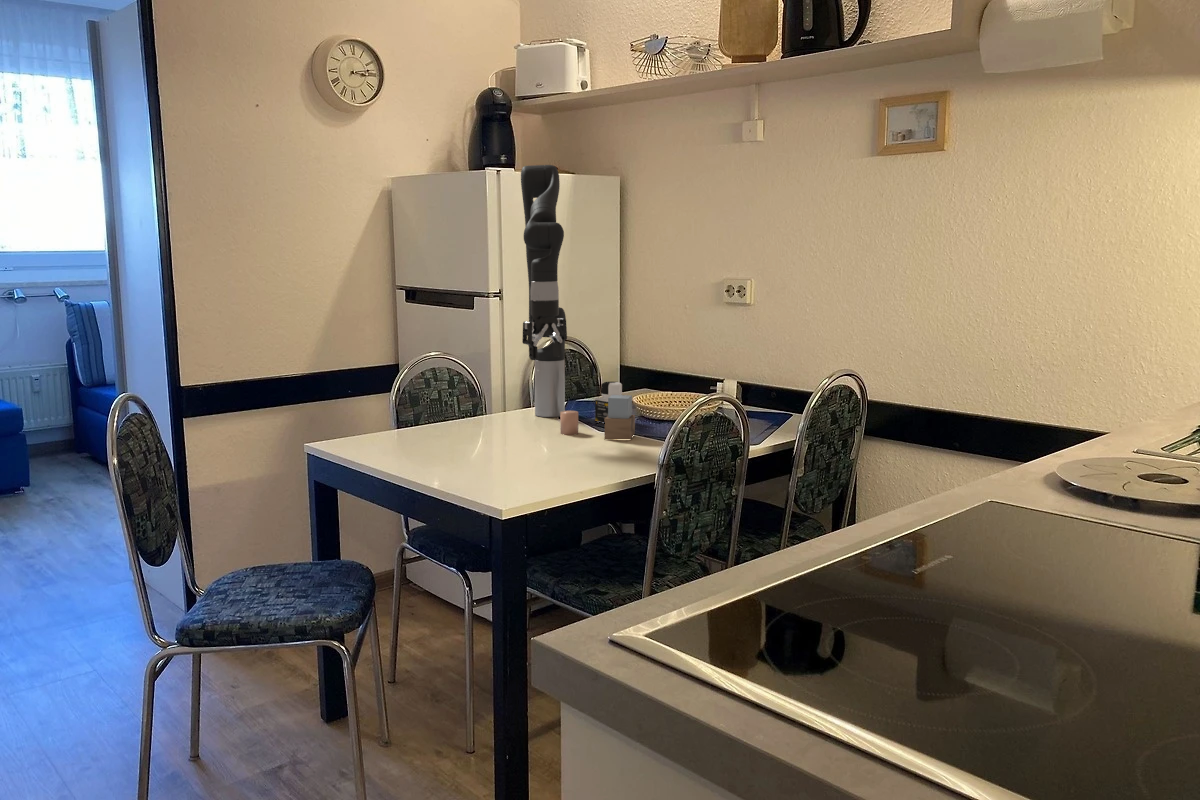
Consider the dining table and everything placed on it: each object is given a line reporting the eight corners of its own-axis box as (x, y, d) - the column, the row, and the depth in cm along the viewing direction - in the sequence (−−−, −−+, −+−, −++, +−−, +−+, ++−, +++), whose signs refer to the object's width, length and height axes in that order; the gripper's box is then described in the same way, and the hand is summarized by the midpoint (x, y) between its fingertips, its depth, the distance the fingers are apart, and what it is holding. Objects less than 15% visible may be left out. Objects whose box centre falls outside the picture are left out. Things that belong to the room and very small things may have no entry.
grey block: (612, 414, 261) (612, 394, 260) (631, 415, 260) (631, 395, 259) (608, 417, 256) (608, 397, 255) (628, 418, 255) (628, 398, 254)
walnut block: (609, 435, 263) (610, 413, 262) (634, 436, 261) (634, 414, 260) (604, 440, 256) (604, 418, 255) (629, 441, 255) (630, 419, 254)
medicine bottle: (594, 421, 282) (594, 382, 280) (612, 418, 286) (612, 379, 284) (610, 425, 276) (611, 384, 274) (628, 422, 281) (628, 382, 279)
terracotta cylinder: (563, 431, 268) (563, 410, 267) (580, 431, 267) (580, 411, 266) (558, 434, 263) (558, 413, 262) (575, 435, 262) (575, 414, 261)
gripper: (554, 296, 260) (554, 354, 263) (515, 299, 250) (516, 359, 253) (573, 297, 255) (573, 357, 258) (534, 300, 245) (535, 362, 248)
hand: (545, 358), depth 256 cm, fingers open, 8 cm apart
